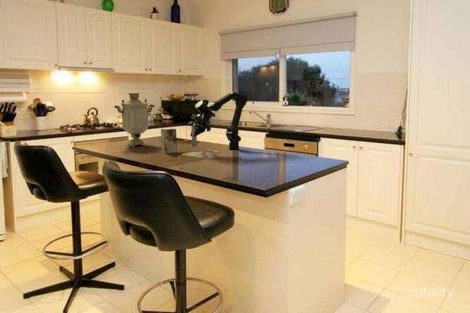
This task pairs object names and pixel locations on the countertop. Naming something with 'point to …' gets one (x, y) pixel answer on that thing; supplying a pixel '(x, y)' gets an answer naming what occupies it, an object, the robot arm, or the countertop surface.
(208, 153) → the board
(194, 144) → the key rod
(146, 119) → the samovar
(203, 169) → the countertop surface
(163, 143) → the coffee box
